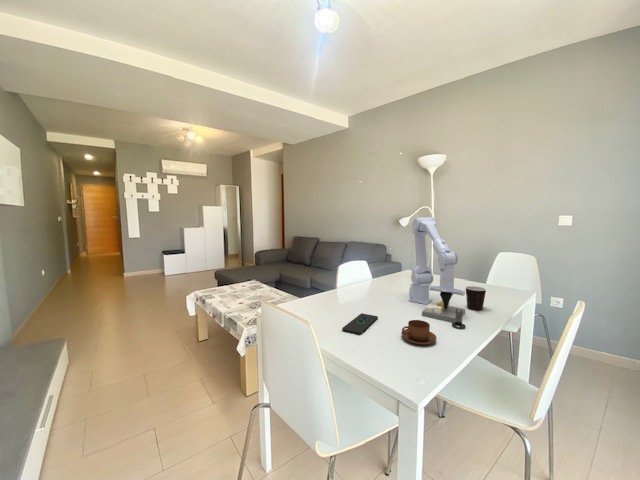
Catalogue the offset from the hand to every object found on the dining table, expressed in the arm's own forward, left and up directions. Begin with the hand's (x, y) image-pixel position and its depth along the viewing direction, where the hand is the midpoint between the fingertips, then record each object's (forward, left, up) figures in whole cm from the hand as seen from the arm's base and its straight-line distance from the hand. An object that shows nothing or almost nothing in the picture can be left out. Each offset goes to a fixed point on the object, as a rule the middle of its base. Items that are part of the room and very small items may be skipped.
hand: (446, 308), depth 126 cm
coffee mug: (+8, +16, -3) cm, 18 cm away
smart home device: (-24, -34, -4) cm, 42 cm away
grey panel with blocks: (-1, 0, -3) cm, 3 cm away
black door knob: (+8, -11, -3) cm, 14 cm away
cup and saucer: (0, -33, -3) cm, 33 cm away
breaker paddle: (-2, 0, -1) cm, 2 cm away
